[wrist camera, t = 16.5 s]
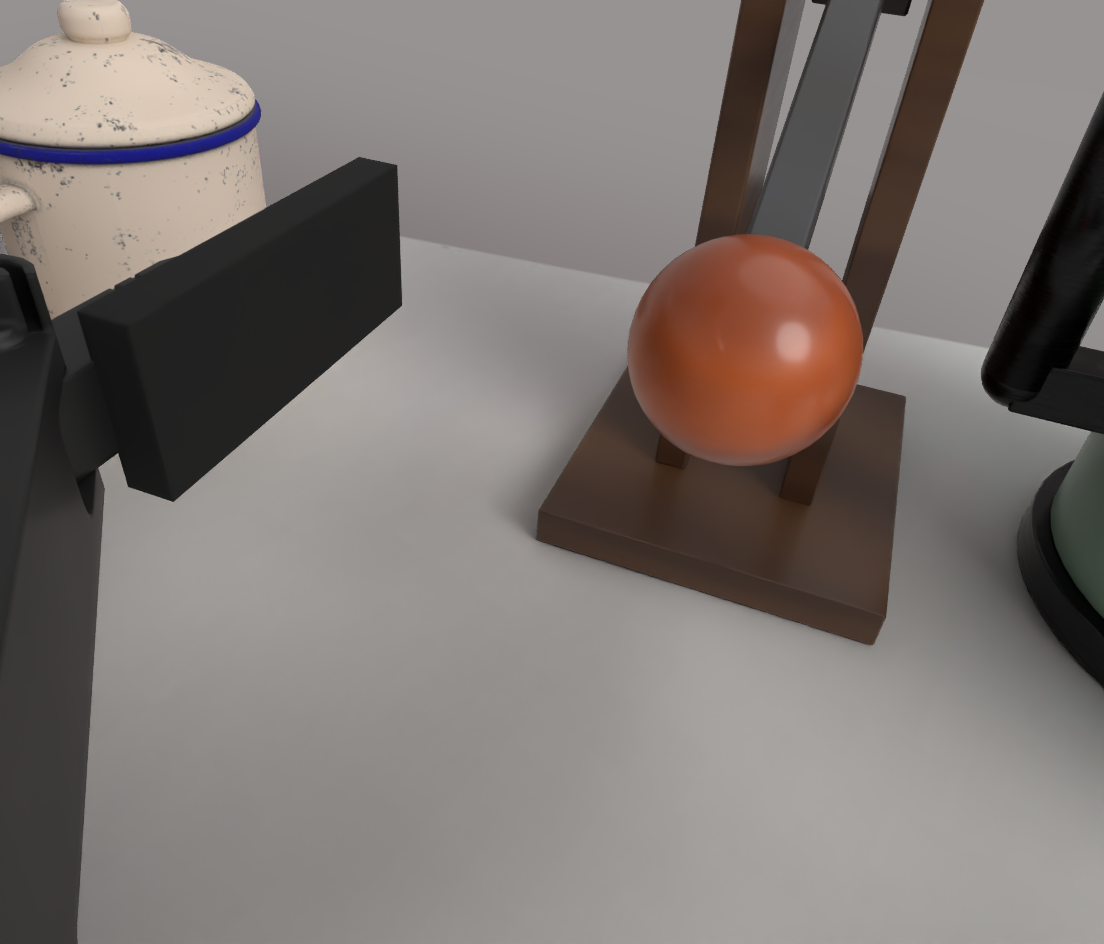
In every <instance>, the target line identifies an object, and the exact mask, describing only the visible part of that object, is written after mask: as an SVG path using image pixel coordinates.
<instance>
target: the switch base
mask: <svg viewBox="0 0 1104 944" xmlns="http://www.w3.org/2000/svg"><path fill="white" fill-rule="evenodd" d="M983 2H984V0H928V3H927V6H926V10H925V13H924V16H923V20H922V22H921V26H920V29H919V32H918V36H917V39H916V42H915V45H914V49H913V52H912V55H911V58H910V61H909V65H908V68H907V71H906V74H905V78H904V81H903V84H902V87H901V91H900V94H899V97H898V101H897V104H896V107H895V110H894V114H893V117H892V120H891V123H890V127H889V130H888V133H887V136H886V140H885V143H884V146H883V150H882V153H881V156H880V159H879V162H878V166H877V169H876V172H875V176H874V179H873V182H872V186H871V189H870V192H869V195H868V198H867V201H866V205H865V208H864V212H863V214H862V218H861V221H860V225H859V228H858V231H857V234H856V237H855V241H854V244H853V247H852V251H851V254H850V257H849V260H848V263H847V267H846V270H845V273H844V277H843V280H842V282H843V283H844V285H845V286H846V288H847V290H848V291H849V293H850V295H851V297H852V299H853V301H854V303H855V306H856V309H857V312H858V315H859V319H860V323H861V328H862V335H863V353H864V350H865V347H866V344H867V341H868V338H869V335H870V332H871V329H872V326H873V323H874V321H875V317H876V315H877V312H878V309H879V306H880V303H881V300H882V297H883V294H884V291H885V288H886V286H887V283H888V280H889V276H890V274H891V271H892V268H893V265H894V262H895V259H896V256H897V253H898V251H899V248H900V244H901V242H902V239H903V236H904V233H905V230H906V227H907V224H908V221H909V218H910V216H911V213H912V210H913V207H914V204H915V201H916V198H917V195H918V192H919V189H920V186H921V183H922V180H923V178H924V174H925V172H926V169H927V166H928V163H929V160H930V157H931V154H932V151H933V148H934V146H935V143H936V140H937V137H938V134H939V131H940V128H941V125H942V122H943V119H944V116H945V113H946V110H947V108H948V105H949V102H950V99H951V96H952V93H953V90H954V87H955V84H956V81H957V78H958V76H959V73H960V69H961V67H962V64H963V61H964V58H965V55H966V52H967V49H968V46H969V43H970V40H971V38H972V34H973V32H974V29H975V25H976V23H977V20H978V17H979V14H980V11H981V8H982V6H983ZM804 4H805V0H741V4H740V9H739V15H738V21H737V25H736V31H735V36H734V42H733V47H732V52H731V58H730V63H729V68H728V73H727V79H726V84H725V89H724V95H723V100H722V105H721V111H720V116H719V121H718V127H717V132H716V137H715V143H714V148H713V153H712V158H711V164H710V169H709V174H708V180H707V185H706V190H705V196H704V201H703V206H702V212H701V217H700V223H699V228H698V233H697V239H696V244H695V247H696V246H698V245H700V244H702V243H705V242H707V241H710V240H713V239H716V238H720V237H724V236H731V235H740V234H747V231H748V228H749V225H750V223H751V220H752V217H753V214H754V211H755V208H756V205H757V202H758V199H759V197H760V194H761V191H762V187H763V183H764V179H765V174H766V170H767V165H768V160H769V157H770V152H771V148H772V144H773V139H774V135H775V130H776V126H777V122H778V117H779V113H780V108H781V104H782V100H783V96H784V91H785V87H786V82H787V78H788V74H789V69H790V65H791V60H792V56H793V52H794V47H795V43H796V39H797V34H798V30H799V25H800V21H801V17H802V12H803V8H804ZM905 404H906V397H905V396H902V395H898V394H894V393H890V392H886V391H882V390H878V389H874V388H870V387H866V386H862V385H858V384H857V385H856V388H855V391H854V393H853V395H852V397H851V399H850V401H849V403H848V405H847V406H846V408H845V410H844V412H843V413H842V414H841V416H840V417H839V418H838V420H837V421H836V422H835V424H834V425H833V426H832V427H831V428H830V429H829V430H828V431H827V432H826V433H825V434H824V435H823V436H822V437H821V438H819V439H818V440H817V441H815V442H814V443H813V444H811V445H810V446H809V447H807V448H805V449H803V450H801V451H800V452H798V453H796V454H794V455H792V456H790V457H787V458H785V459H782V460H780V461H776V462H772V463H769V464H764V465H757V466H728V465H721V464H716V463H711V462H708V461H705V460H702V459H699V458H696V457H694V456H692V455H690V454H688V453H686V452H684V451H682V450H681V449H679V448H678V447H676V446H675V445H673V444H672V443H671V442H669V441H668V440H667V439H666V438H665V437H663V436H662V434H661V433H660V432H659V431H658V430H657V429H656V428H655V427H654V426H653V425H652V424H651V422H650V421H649V420H648V418H647V417H646V415H645V414H644V412H643V410H642V408H641V406H640V404H639V402H638V400H637V398H636V396H635V394H634V391H633V388H632V384H631V380H630V374H629V368H628V367H627V368H626V370H625V371H624V373H623V375H622V376H621V378H620V380H619V381H618V383H617V384H616V386H615V388H614V389H613V391H612V392H611V394H610V396H609V397H608V399H607V401H606V402H605V404H604V405H603V407H602V409H601V410H600V412H599V414H598V415H597V417H596V418H595V420H594V422H593V423H592V425H591V427H590V428H589V430H588V431H587V433H586V435H585V436H584V438H583V439H582V441H581V443H580V444H579V446H578V448H577V449H576V451H575V452H574V454H573V456H572V457H571V459H570V461H569V462H568V464H567V465H566V467H565V469H564V470H563V472H562V473H561V475H560V477H559V478H558V480H557V482H556V483H555V485H554V486H553V488H552V490H551V491H550V493H549V495H548V496H547V498H546V499H545V501H544V503H543V504H542V506H541V508H540V509H539V512H538V523H537V535H536V539H537V540H539V541H542V542H546V543H549V544H552V545H555V546H558V547H562V548H565V549H568V550H571V551H574V552H577V553H581V554H584V555H587V556H590V557H593V558H596V559H600V560H603V561H606V562H609V563H612V564H615V565H619V566H622V567H625V568H628V569H631V570H634V571H638V572H641V573H644V574H647V575H650V576H653V577H657V578H660V579H663V580H666V581H669V582H673V583H676V584H679V585H682V586H685V587H688V588H692V589H695V590H698V591H701V592H704V593H707V594H711V595H714V596H717V597H720V598H723V599H726V600H730V601H733V602H736V603H739V604H742V605H745V606H749V607H752V608H755V609H758V610H761V611H764V612H768V613H771V614H774V615H777V616H780V617H783V618H787V619H790V620H793V621H796V622H799V623H803V624H806V625H809V626H812V627H815V628H818V629H822V630H825V631H828V632H831V633H834V634H837V635H841V636H844V637H847V638H850V639H853V640H856V641H860V642H863V643H866V644H869V645H873V644H874V642H875V640H876V638H877V636H878V634H879V632H880V629H881V627H882V625H883V623H884V621H885V619H886V613H887V602H888V591H889V580H890V569H891V558H892V547H893V536H894V525H895V514H896V503H897V492H898V481H899V470H900V459H901V448H902V437H903V426H904V415H905Z"/></svg>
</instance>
